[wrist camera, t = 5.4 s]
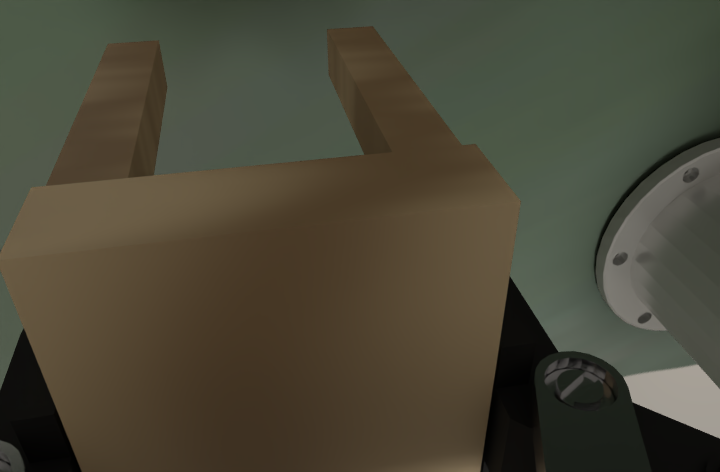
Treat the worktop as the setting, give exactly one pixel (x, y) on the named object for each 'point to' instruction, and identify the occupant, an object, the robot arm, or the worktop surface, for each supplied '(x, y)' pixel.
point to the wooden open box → (267, 286)
